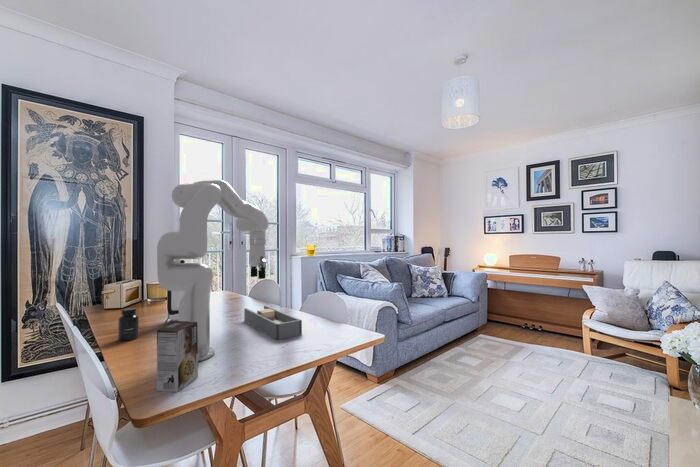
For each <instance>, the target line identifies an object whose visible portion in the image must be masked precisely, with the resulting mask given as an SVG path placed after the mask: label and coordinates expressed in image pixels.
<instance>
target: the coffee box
mask: <svg viewBox="0 0 700 467" xmlns="http://www.w3.org/2000/svg"><path fill="white" fill-rule="evenodd" d="M198 377H199V361H198V333H197V322H189V321H174V322H173V323H171V324H170V323H169V324H167V325H165V326H163V327H160V328H158V329H157V330H156V391H157V392H173V393H179V392H180V391H182V390H183V389H184V388H185V387H187V386H189V385H190V384H191V383H192V382H193V381H194V380H196V379H198Z"/></svg>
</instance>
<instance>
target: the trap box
mask: <svg viewBox="0 0 700 467" xmlns="http://www.w3.org/2000/svg"><path fill="white" fill-rule="evenodd" d="M264 309H271V310H274V311H275V320H270V319H267V318H265V317H263V316H261V315H259V314H257V312H256V311H253V310H251V309H249V308H244V310H243V311H244V312H243V313H244V315H243V316H244V317H243V318H244V322H245V323H248V324H249V325H250V326H253V327H254V328H255V329H258V330H259V331H261V332H263V333H265V334H266V335H268V336H269V337H271V338H273V339H275V340H277V341H279V340H284V339H288V338H292V337H297V336H301V335H303V332H302V331H303V328H302V327H303V324H302V323H303V322H302V319H300V318H297V317H295V316H293V315H290V314H287V313H286V312H283V311H280V310H277V309H275V308H272V307H270V306H268V305H264V306H263V310H264Z"/></svg>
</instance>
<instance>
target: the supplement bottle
mask: <svg viewBox="0 0 700 467" xmlns="http://www.w3.org/2000/svg"><path fill="white" fill-rule="evenodd" d="M117 322H118V323H117V324H118V326H117V327H118V328H117V340H118V341H119V342H129V341H135V340H136V339H138V338H139V332H140V331H139V330H140V329H139V325H140V324H139V323H140V317H139V315H138V314H137V308H135V307H130V308H129V307H128V308H123V309H121V316H119V317H118V320H117Z"/></svg>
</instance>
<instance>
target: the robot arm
mask: <svg viewBox="0 0 700 467" xmlns="http://www.w3.org/2000/svg"><path fill="white" fill-rule="evenodd" d="M171 199H172V201H173V203H174V204H175V205H176V206H177V207H179V208H182V210H181V212H180V215H179V227H178V231H169V232H165V233H164V234H162V235H161V236H160V238H159V240H158V242H157V246H156V267H157V268H156V269H157V270H156V271H157V282H158V284H159V286H160V288H161V289H163V290H165V291H167V290H169V291H185V294H184V295H183V297H182V299H181V300H180V303H179V321H189V322H197V333H198V362H201V361H204V360H208V359H211V357H213V356H214V355H215V352H216V351H215V348H213V347H211V346H210V345H211V340H210V339H211V338H210V336H211V335H210V334H211V333H210V328H211V327H210V326H211V324H210V322H211V320H210V318H211V316H210V313H211V312H210V311H211V310H210V306H211V305H210V304H211V303H210V302H211V301H210V300H211V299H210V298H211V291H212V290H211V289H212V283H213V278H214V276H213V275H214V273H213V270H212V269H211V267H210V266H208V264H204V263H201V262H200V263H199V262H185V263H180V261H181V260H199V259H202V258H203V257H205V256H206V255H207V251H208V218H209V214H210V213H211V211H212V209H213V208H214V207H215V206H216V205H218V206H219V207H220V208H221V209H222V210H223V211H224V212H225V213H226V215H228V216H231V217H233V218H237V219H236V221H235V226H236V228H237V230H238V231H239V232H242V233H244V232H245V233H249V241H248V243H249V252H248V253H249V255H248V265H249V266H250V277H251V278H254V277H258V280H265V279H266V267H267V266H266V265H267V261H266V260H267V259H266V245H267V244H266V240H267V239H266V231H267V229H268V228H269V220H268V218H267V216H266V214H265V213H264V212H263V210H262V209H260V208H259V207H258V206H255V205H254V204H251V203H250V202H248V201H245V200H243V199H242V198H241V197H240V196H239V194H238V193H237V191H235V189H234V188H233V187H232V186H231V185H230V183H228V182H227V181H225V180H222V179H217V180H216V179H213V180H201V181H199V180H198V181H194V182H188V183H181V184H177V185H176V186H175V187H174V188H173V190H172V192H171Z"/></svg>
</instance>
